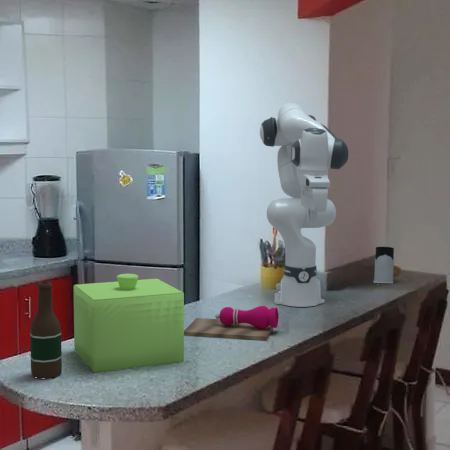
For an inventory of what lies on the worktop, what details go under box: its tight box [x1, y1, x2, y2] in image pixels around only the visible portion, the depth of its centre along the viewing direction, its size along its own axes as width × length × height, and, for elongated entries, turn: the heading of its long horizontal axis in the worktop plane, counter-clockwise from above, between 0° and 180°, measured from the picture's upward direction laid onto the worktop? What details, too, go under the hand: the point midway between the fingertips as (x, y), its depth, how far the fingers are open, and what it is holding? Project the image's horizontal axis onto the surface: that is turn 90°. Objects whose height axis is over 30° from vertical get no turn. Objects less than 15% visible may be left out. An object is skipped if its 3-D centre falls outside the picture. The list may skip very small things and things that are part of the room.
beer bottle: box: [29, 281, 63, 379], centre depth 189 cm, size 8×8×24 cm
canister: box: [73, 273, 185, 373], centre depth 206 cm, size 25×21×23 cm
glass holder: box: [372, 246, 395, 284], centre depth 318 cm, size 9×14×15 cm, turn 170°
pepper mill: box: [214, 305, 280, 329], centre depth 235 cm, size 7×7×20 cm
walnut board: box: [184, 317, 274, 341], centre depth 236 cm, size 26×18×1 cm
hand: (312, 223), depth 238 cm, fingers closed
